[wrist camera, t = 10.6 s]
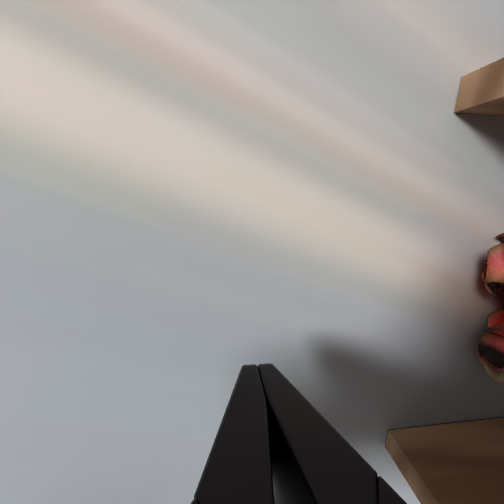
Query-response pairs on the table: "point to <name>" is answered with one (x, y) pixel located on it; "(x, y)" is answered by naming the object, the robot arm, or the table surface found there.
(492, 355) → the dragon fruit
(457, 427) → the box
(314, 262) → the table surface
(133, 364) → the table surface
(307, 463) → the robot arm
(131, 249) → the table surface
